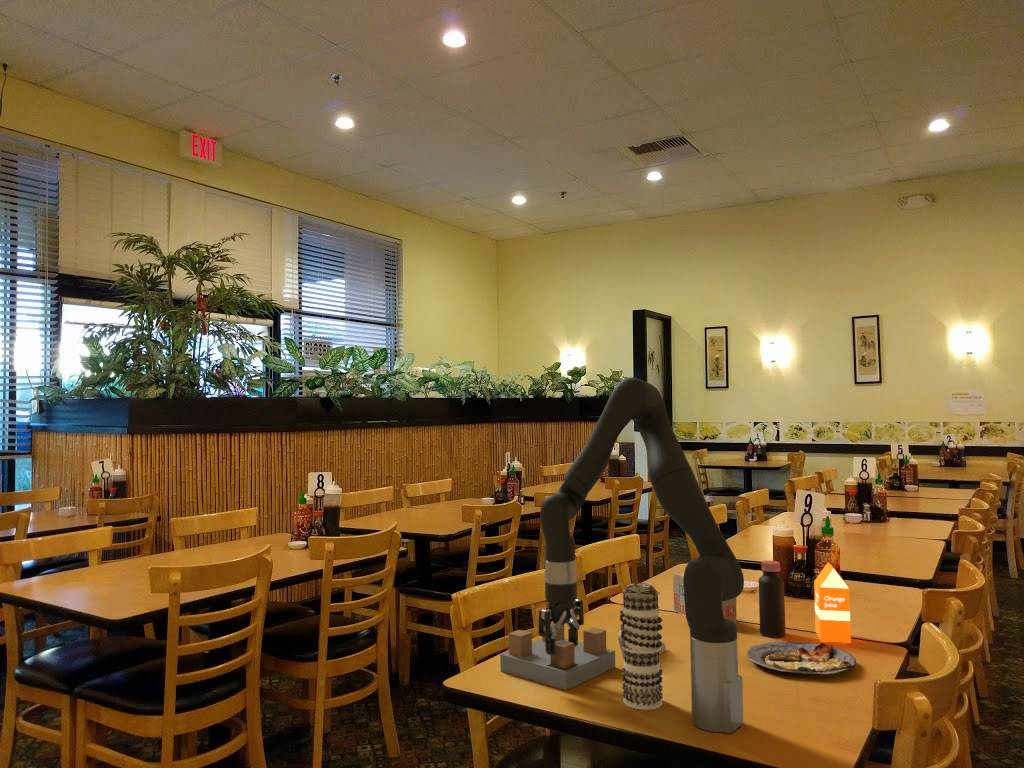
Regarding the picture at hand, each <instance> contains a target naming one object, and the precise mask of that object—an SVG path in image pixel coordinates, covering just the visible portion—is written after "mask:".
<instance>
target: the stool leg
mask: <svg viewBox="0 0 1024 768" xmlns="http://www.w3.org/2000/svg"><path fill="white" fill-rule="evenodd" d="M555 648H556V653H555V654H554V655H550V662H551V667H553V668H557V669H560V670H564V671H566V670H568V669H570V668H572V667H575V654H574V643H572V642H568V641H564V640H559V641H556V642H555Z"/></svg>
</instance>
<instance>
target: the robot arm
mask: <svg viewBox="0 0 1024 768" xmlns="http://www.w3.org/2000/svg"><path fill="white" fill-rule="evenodd" d="M631 421H633V423H634V425H635V426H636V428H637V430H638V432H639V434H640V436H641V438H642V441H643V443H644V446H645V449H646V450H645V451H646V459H647V460H646V461H647V463H646V464H647V473H648V478H649V481H650V484H651V486H652V489H653V491H654V493H655V496H656V499H657V500H658V502H659V504H660V506H661V508H662V509H663V510H664V512H665V513H666V514H667V515H668V517H670V518H671V519H672V520H673V521H674V522H675V523H676V525H678V526H679V527H680V528H681V529H682V530H683V531H684V533H686V535H688V536H689V538H690V540H691V541H692V543H693V544H694V546H695V548H696V551H697V553H698V555H699V557H697V558H694V559H691V560H690V561H689V562H688V563H687V564H686V566H685V568H684V571H683V572H684V578H683V586H684V600H685V614H686V616H685V619H686V622H687V625H688V627H689V640H690V641H689V646H690V647H689V648H690V649H689V651H690V690H691V695H690V696H691V721H692V723H693V725H695V726H696V727H697V728H700V729H701V730H705V731H709V732H715V733H726V734H732V733H733V732H735V731H736V730H737V729H738V728H740V727H741V726H743V725H744V704H743V703H744V699H743V696H744V693H743V692H744V691H743V689H744V687H743V677H742V676H743V675H740V674H739V667H738V666H739V665H738V664H739V663H738V661H739V659H738V658H739V657H738V627H737V626H736V624H735V623H734V622H733V621H732V620H729V619H727V618H724V616H723V609H722V601H726V600H730V599H734V598H736V599H737V598H738V597H739V596H740V595H741V594H742V592H743V590H744V586H745V577H744V574H743V570H742V567H741V565H740V563H739V562H738V559H737V558H736V555H735V554H734V552H733V550H732V549H731V547H730V546H729V543H728V542H727V540H726V539H725V536H724V535H723V533H722V532H721V529H720V528H719V525H718V524H717V522H716V520H715V517H714V516H713V514H712V511H711V509H710V507H709V505H708V502H707V501H706V499H705V497H704V495H703V492H702V490H701V488H700V487H701V486H700V485H699V483H698V479H697V477H696V476H695V473H694V471H693V469H692V466H691V465H690V463H689V461H688V459H687V457H686V454H685V453H684V451H683V449H682V446H681V444H680V442H679V440H678V438H677V437H676V436H677V435H676V433H675V431H674V430H673V427H672V424H671V422H670V419H669V415H668V411H667V408H666V405H665V402H664V400H663V397H662V395H661V392H660V391H659V390H658V389H657V387H655V386H654V385H653V384H652V383H650V382H647V381H645V380H642V379H640V378H637V377H631V376H630V377H626V378H624V379H622V380H620V381H619V382H618V383H617V384H616V385H615V387H614V389H613V390H612V392H611V395H610V396H609V398H608V399H607V403H606V404H605V406H604V409H603V411H602V413H601V414H600V417H599V418H598V420H597V422H596V424H595V426H594V428H593V431H592V432H591V434H590V436H589V438H588V439H587V441H586V442H585V445H584V446H583V448H582V449H581V450H580V452H579V454H577V456H576V457H575V459H574V461H573V462H572V463H571V465H570V466H569V467H568V469H567V471H566V472H565V474H564V477H563V480H564V481H563V483H562V484H561V485H560V487H559V489H558V490H557V491H556V492H555V494H551V495H548V496H547V497H546V498H545V499H543V501H542V503H541V507H540V513H539V514H540V524H541V525H540V526H541V529H542V535H543V538H544V542H545V543H544V546H545V547H544V549H545V551H544V552H545V553H544V554H545V555H544V556H545V557H544V559H545V561H544V562H545V564H544V598H545V600H546V602H547V603H548V607H547V609H542V608H541V609H539V610H538V637H542V638H543V637H545V645H546V653H547V654H549V655H554V654H555V653H556V648H555V635H556V633H557V631H558V630H559V629H560V627H561V625H563V624H564V625H565V624H566V625H567V627H568V630H567V631H568V635H567V636H568V638H567V639H568V640H569V642H572V643H574V646H577V645H578V642H579V630H580V626H583V625H585V624H584V623H585V619H584V618H585V616H584V615H585V614H584V602H583V600H582V599H578V577H577V576H578V573H577V571H578V569H577V562H576V543H575V541H576V540H575V538H574V536H573V535H571V533H570V532H571V531H570V522H571V520H573V519H574V518H575V517H576V515H577V514H578V513H579V511H580V510H581V508H582V506H583V504H584V502H585V501H586V499H587V497H588V494H589V493H590V491H591V490H592V489H593V488H594V486H595V485H596V484H597V483H598V481H599V479H600V478H601V476H602V475H603V474H604V472H605V470H606V469H607V467H608V465H609V463H610V459H611V456H612V452H613V450H614V446H615V445H616V442H617V439H618V437H619V436H620V434H621V433H622V431H623V430H624V429H625V428H626V426H627V425H628V424H629V423H630V422H631ZM551 622H553V623H554V624H551ZM544 626H545V631H543V628H544ZM550 629H553V630H552V632H551V633H550Z"/></svg>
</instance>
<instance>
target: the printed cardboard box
mask: <svg viewBox="0 0 1024 768" xmlns="http://www.w3.org/2000/svg"><path fill="white" fill-rule="evenodd" d="M683 578H684V571H681V572H680V571H679V572H675V573H672V584H673V586H672V587H673V612H674V611H676V612H678V613H681V614H684V615H686V614H685V600H684V586H683ZM722 609H723V616H724V618H727V619H729V620H732V621H733V622H734V623H735V624H736V626H737V623H738V622H737V597H736V598H734V599H730V600H726V601H722ZM676 612H675V613H676ZM678 613H677V614H678ZM681 614H680V615H681Z"/></svg>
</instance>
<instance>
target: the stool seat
mask: <svg viewBox="0 0 1024 768" xmlns="http://www.w3.org/2000/svg"><path fill="white" fill-rule="evenodd" d="M551 624H554V623H553V622H551ZM552 630H553V629H550V633H551V632H552ZM543 631H545V626H544V628H543ZM582 632H583V642H582V641H581V642H580V641H578V645H577V646H574V654H575V667H572V668H570V669H568V670H566V671H564V670H560V669H557V668H553V667H551V662H550V655H549V654H547V653H546V645H545V637H542V638H541V639H538V640H535V641H533V633H532V632H530V631H526V630H522V629H517V630H514V631H512V632H509V633H508V651H506V652H503V653H500V665H499V666H500V672H502V673H505V674H509V675H513V676H515V677H519V676H520V678H523V677H524V678H523V679H526V678H527V679H526V680H529V679H530V681H533V680H534V681H533V682H536V681H537V683H539V682H540V684H543V685H546V684H547V686H549V685H551V686H550V687H553V686H554V687H553V688H556V687H557V689H560V690H563V689H564V690H563V691H567V689H568V690H570V689H572V688H574V687H576V686H577V685H580V684H582V683H585V682H587V681H589V680H591V679H593V678H595V677H597V676H599V675H601V673H602V674H603V672H604V673H606V672H608V671H610V670H612V669H614V668H616V650H614V649H610V648H607V630H606V629H602V628H598V627H590V628H588V629H585V630H583V631H582ZM559 640H564V641H568V642H569V640H568V638H565V624H563V625H561V627H560V629H559V630H558V631H557V633H556V635H555V642H556V641H559ZM609 669H610V670H609ZM607 670H608V671H607ZM605 671H606V672H605ZM594 676H595V677H594ZM590 678H591V679H590ZM588 679H589V680H588ZM584 681H585V682H584ZM573 686H574V687H573ZM571 687H572V688H571ZM569 688H570V689H569Z"/></svg>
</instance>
